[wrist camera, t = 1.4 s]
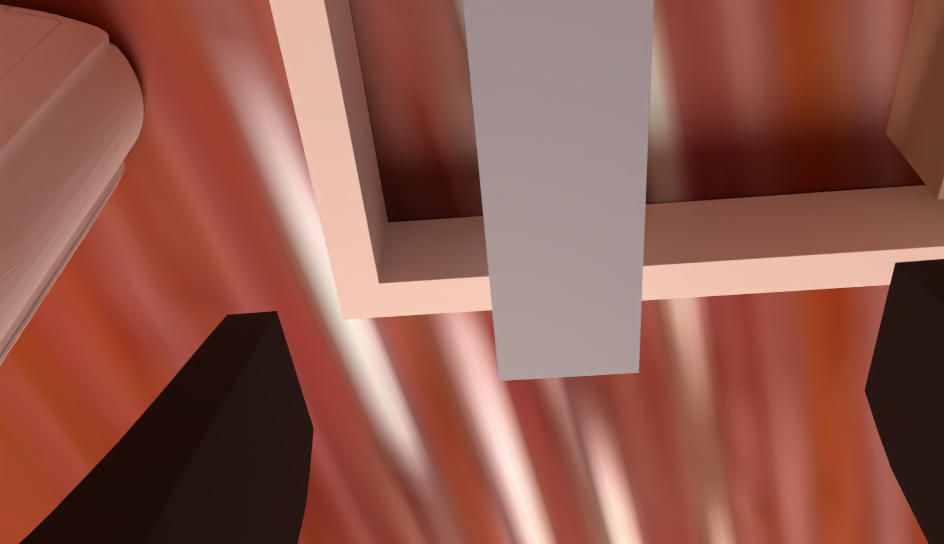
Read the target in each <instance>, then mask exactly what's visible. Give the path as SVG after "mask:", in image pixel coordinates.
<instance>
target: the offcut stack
mask: <svg viewBox="0 0 944 544" xmlns="http://www.w3.org/2000/svg"><path fill="white" fill-rule="evenodd" d="M885 133H886V135H887V136H888V137H889V138H890V140H891V141H892V142H893V143H894V145H895V146H896V147H897V149H898V150H899V151H900V152H901V154H902V155H903V156H904V157H905V159H906V160H907V161H908V163H909V164H910V165H911V166H912V168H913V169H914V170H915V171H916V173H917V174H918V175H919V177H920V178H921V179H922V180H923V182H924V183H925V184H926V186H927V187H928V188H929V189H930V191H931V192H932V193H933V194H934V196H935V197H936V198H937V199H944V0H915V4H914V9H913V13H912V17H911V22H910V26H909V31H908V35H907V39H906V44H905V48H904V53H903V57H902V62H901V66H900V70H899V75H898V79H897V84H896V88H895V93H894V97H893V101H892V106H891V110H890V115H889V119H888V124H887V128H886V132H885Z"/></svg>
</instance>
